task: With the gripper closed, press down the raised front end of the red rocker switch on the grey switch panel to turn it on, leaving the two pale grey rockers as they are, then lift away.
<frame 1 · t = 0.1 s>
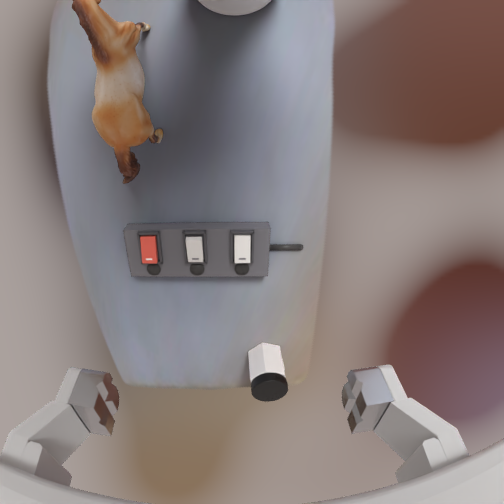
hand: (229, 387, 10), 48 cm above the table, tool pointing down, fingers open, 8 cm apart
grey switch panel: (197, 246, 61), on the table
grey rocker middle: (194, 249, 56), point 4 cm above the table, hinge at 12.0°
horse figurine: (128, 91, 46), on the table
red rocker: (149, 249, 56), point 4 cm above the table, hinge at -12.0°
jar: (265, 353, 76), on the table
grey rocker end: (242, 248, 57), point 4 cm above the table, hinge at -12.0°
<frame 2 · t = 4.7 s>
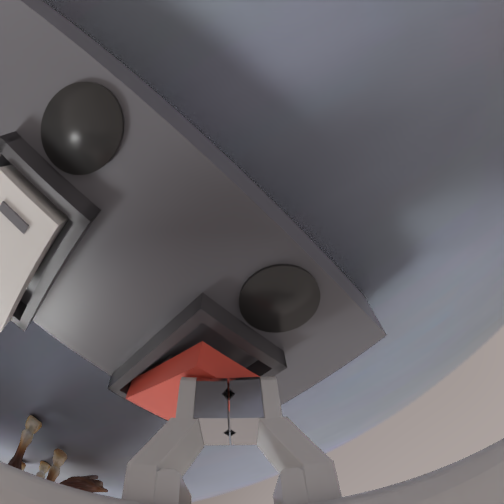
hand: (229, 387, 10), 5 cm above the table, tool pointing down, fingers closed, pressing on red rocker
grey switch panel: (71, 180, 11), on the table
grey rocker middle: (3, 251, 8), point 4 cm above the table, hinge at 12.0°
horse figurine: (64, 459, 24), on the table
red rocker: (188, 387, 11), point 4 cm above the table, hinge at -11.9°, touching gripper
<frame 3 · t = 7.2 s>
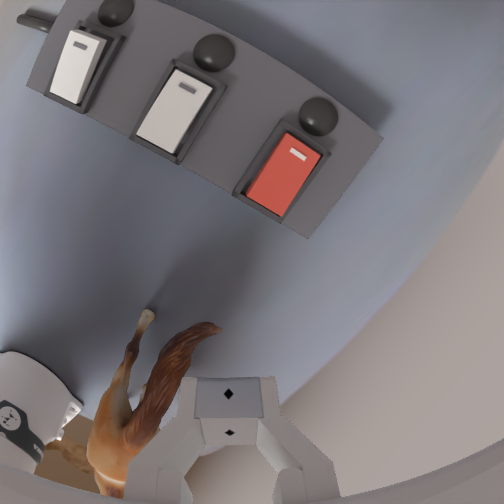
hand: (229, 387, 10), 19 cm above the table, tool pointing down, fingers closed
grey switch panel: (196, 91, 22), on the table
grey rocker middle: (174, 111, 19), point 4 cm above the table, hinge at 12.0°
horse figurine: (168, 370, 37), on the table
red rocker: (282, 174, 21), point 4 cm above the table, hinge at 10.5°
grey rocker end: (77, 65, 17), point 4 cm above the table, hinge at -12.0°
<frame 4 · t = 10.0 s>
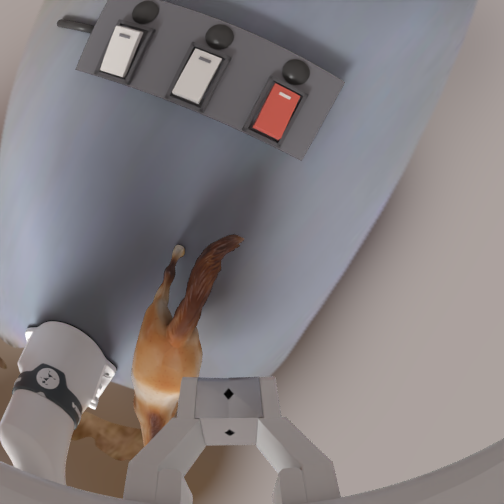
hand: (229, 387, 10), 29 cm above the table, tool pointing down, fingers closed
grey switch panel: (207, 66, 29), on the table
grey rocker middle: (197, 76, 26), point 4 cm above the table, hinge at 12.0°
horse figurine: (197, 309, 45), on the table
red rocker: (276, 111, 29), point 4 cm above the table, hinge at 18.4°
grey rocker end: (121, 50, 24), point 4 cm above the table, hinge at -12.0°
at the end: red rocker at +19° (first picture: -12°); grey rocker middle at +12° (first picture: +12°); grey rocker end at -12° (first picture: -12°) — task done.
